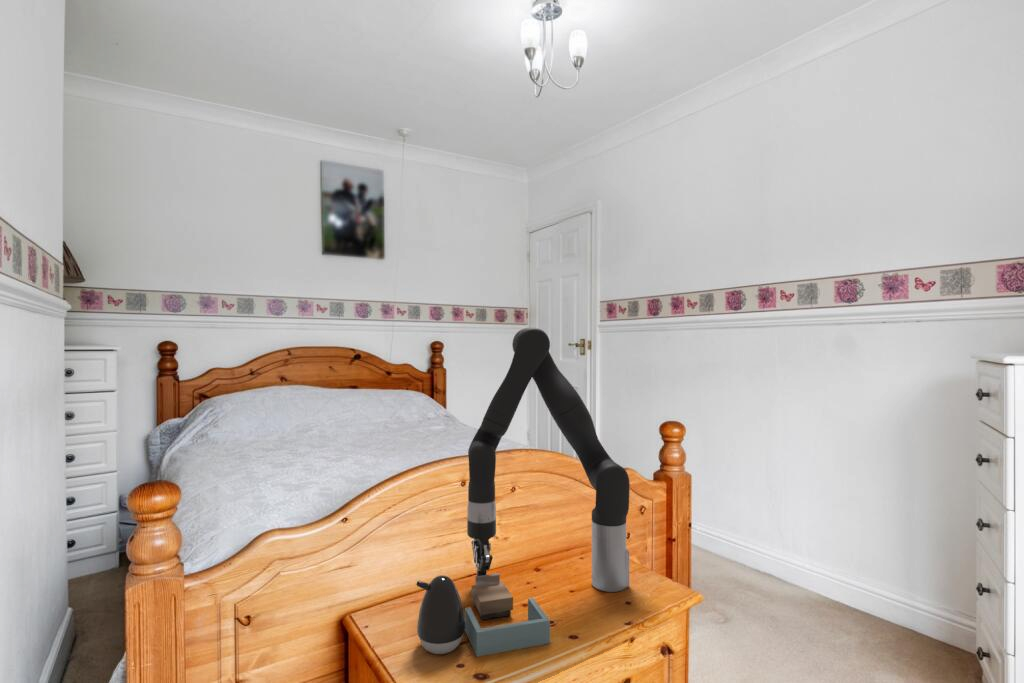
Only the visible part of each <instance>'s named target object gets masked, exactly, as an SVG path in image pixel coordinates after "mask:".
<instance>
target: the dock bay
mask: <svg viewBox="0 0 1024 683" xmlns="http://www.w3.org/2000/svg"><path fill="white" fill-rule="evenodd" d="M464 618H465V633H466V635H467V638H468V640H469V642H470V645H471V647H472V650H473V651H474V653H475V655H476V657H483V656H489V655H492V654H498V653H503V652H509V651H514V650H520V649H526V648H531V647H536V646H537V647H538V646H543V645H548V644H551V619H550V618H549V617H548V616H547V614H546V613H545V612H544V610H543V609H542V608H541V606H540V605H539V604H538V603H537V601H536V600H535V598H533V597H527V620H526V621H521V622H520V621H519V622H513V623H509V624H502V625H501V624H500V625H495V626H489V627H484V628H483V627H482V628H481V626H480V624H479V621H478V619H477V617H476V615H475V614H474V612H473V610H472V608H471V606H469V607H465V608H464Z"/></svg>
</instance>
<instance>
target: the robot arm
mask: <svg viewBox="0 0 1024 683" xmlns="http://www.w3.org/2000/svg"><path fill="white" fill-rule="evenodd" d="M550 347H551V342H550V338H549V335H548V334H547V333H546V332H545V331H544V330H543V329H541V328H538V327H526V328H522V329H520V330H518V331H517V332H516V333H515V335H514V336H513V339H512V350H513V352H514V353H513V357H512V360H511V362H510V366H509V368H508V371H507V373H506V375H505V377H504V379H503V380H502V382H501V384H500V386H499V387H498V389H497V390H496V391H495V394H494V396H493V397H492V399H491V401H490V402H489V405H488V407H487V410H486V411H485V414H484V416H483V418H482V421H481V424H480V426H479V428H478V429H477V432H476V433H475V434H474V437H473V439H472V441H471V442H470V444H469V446H468V447H469V448H468V450H467V453H468V474H469V481H468V485H467V486H468V489H467V490H468V492H467V493H468V496H467V498H468V501H467V507H466V508H467V510H466V512H467V515H466V516H467V517H466V518H467V519H466V521H467V524H466V526H467V527H466V528H467V530H466V534H467V536H468V537H469V538H471V539H473V540H471V546H472V547H471V548H472V557H473V562H474V564H475V568H476V576H482V575H487V571H490V568H491V565H492V561H493V554H491V553H490V552H491V551H492V550H491V548H492V547H491V543H490V539H492V538H494V537H495V536H496V534H497V507H496V506H497V505H496V483H495V482H496V481H495V478H496V464H497V462H496V460H497V457H496V455H497V454H496V452H497V448H498V446H499V444H500V442H501V439H502V438H503V436H505V435H506V433H507V432H508V429H509V427H510V425H511V423H512V421H513V418H514V417H515V416H514V415H515V414H516V412H517V409H518V407H519V405H520V402H521V400H522V398H523V396H524V393H525V391H526V389H527V387H528V385H529V384H530V382H531V380H532V379H533V382H534V383H535V384H536V387H537V389H538V391H539V393H540V396H541V398H542V400H543V401H544V404H545V406H546V407H547V409H548V412H549V413H550V415H551V416H552V419H553V420H554V422H555V424H556V426H557V427H558V428H559V429H558V430H560V432H561V433H562V435H563V436H564V438H565V439H566V441H567V442H568V444H569V446H571V448H572V449H573V450H574V452H575V453H576V455H577V457H578V459H579V461H580V463H581V465H582V468H583V469H584V472H585V475H586V478H587V479H588V481H589V483H590V486H592V487H593V489H594V490H595V506H594V507H593V509H592V510H591V585H592V586H593V587H594V588H595V589H597V590H598V591H602V592H607V593H608V592H609V593H615V592H621V591H623V590H625V589H626V588H629V587H630V550H628V549H627V515H628V513H629V511H630V510H629V509H630V488H631V487H630V485H631V484H630V478H629V474H628V472H627V470H626V469H625V468H624V467H623V466H621V465H620V464H619V463H617V462H615V460H613V459H612V457H611V456H610V455H609V454H608V453H607V451H606V449H605V448H604V446H603V445H602V443H601V441H600V439H599V437H598V435H597V431H596V429H595V427H596V426H595V425H594V421H593V419H592V416H591V414H590V412H589V409H588V408H587V406H586V404H585V402H584V401H583V399H582V398H581V396H580V395H579V393H578V392H577V390H576V389H575V388H574V386H573V385H572V384H571V383H570V381H569V380H568V379H567V378H566V376H565V375H564V374H563V373H562V372H561V371H560V369H559V368H558V367H557V365H556V363H555V361H554V359H553V357H552V354H551V353H550Z"/></svg>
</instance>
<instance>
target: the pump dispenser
mask: <svg viewBox="0 0 1024 683" xmlns="http://www.w3.org/2000/svg"><path fill="white" fill-rule="evenodd" d="M415 585H416V586H417V587H419V588H421V589H423V590H425V592H424V594H423V597H422V600H421V604H420V607H419V612H418V617H417V618H418V620H417V625H416V626H417V629H416V630H417V631H416V632H417V633H416V634H417V636H418V637H419V641H420V643H421V646H422V648H424V649H425V650H426V651H427V652H429V653H431V654H434V655H444V654H449V653H450V652H453V651H454V650H455V649H457V647H459V645H460V644H461V642H462V639H463V636H464V634H465V633H466V631H465V610H464V607H463V602H462V599H461V596H460V594H459V591H458V589H457V587H456V584H455V583H454V581H453V579H451V577H449V576H447V575H437V576H435V577H434V578H432V579H431V581H430V583H429V582H425V581H421V580H417V581H416V583H415Z"/></svg>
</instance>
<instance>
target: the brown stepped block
mask: <svg viewBox="0 0 1024 683" xmlns="http://www.w3.org/2000/svg"><path fill="white" fill-rule="evenodd" d="M500 577H501V576H500V573H499V572H498V573H492V574H491V573H490V574H486V575H482V576H477V575H476V576H475V578H474V579H475V580H474V581H475V582H474V585H471V589H470V590H471V594H470V595H471V599H472V601H473V605H474V606H473V607H474V608H475V609H476V610H477V611H478V614H479V617H480V620H481V621H482V620H483V621H484V620H490V619H495V618H501V617H502V618H503V617H508V616H511V611H513V610H514V596H513V595H512V593H511V592H510V590H509V589H508V588H507V586H506V585H505V583H504V582H503V581H500Z"/></svg>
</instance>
